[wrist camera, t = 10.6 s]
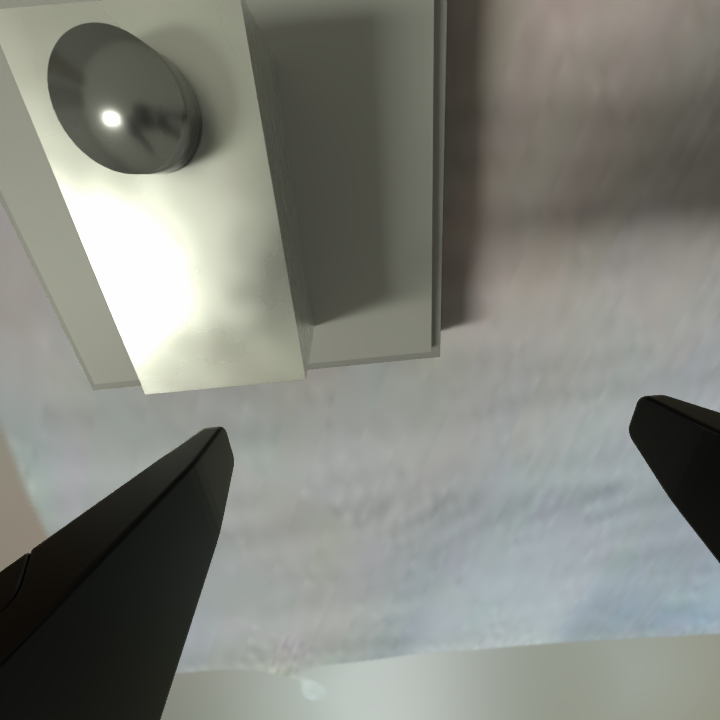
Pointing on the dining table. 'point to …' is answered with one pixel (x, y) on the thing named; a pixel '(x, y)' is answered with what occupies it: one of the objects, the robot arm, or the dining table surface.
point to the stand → (295, 184)
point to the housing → (174, 180)
